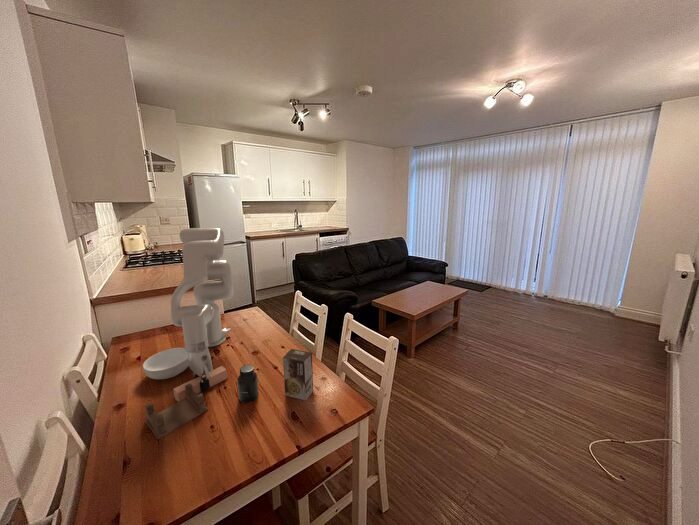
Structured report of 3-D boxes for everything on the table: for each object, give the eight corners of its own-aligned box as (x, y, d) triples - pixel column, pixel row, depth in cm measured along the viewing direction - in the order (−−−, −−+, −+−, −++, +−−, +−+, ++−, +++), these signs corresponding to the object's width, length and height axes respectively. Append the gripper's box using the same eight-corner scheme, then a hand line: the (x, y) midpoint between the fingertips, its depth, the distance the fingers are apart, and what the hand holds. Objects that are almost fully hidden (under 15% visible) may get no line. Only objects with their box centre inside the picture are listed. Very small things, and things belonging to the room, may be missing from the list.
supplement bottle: (240, 406, 96) (237, 376, 94) (238, 394, 102) (235, 365, 100) (260, 399, 99) (257, 370, 97) (257, 388, 105) (254, 360, 103)
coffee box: (313, 390, 105) (312, 352, 101) (306, 401, 99) (304, 361, 95) (293, 384, 108) (291, 347, 104) (284, 395, 102) (282, 356, 98)
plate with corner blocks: (193, 396, 101) (191, 381, 100) (207, 410, 94) (205, 394, 93) (145, 421, 89) (142, 405, 88) (157, 439, 83) (154, 422, 81)
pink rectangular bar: (222, 374, 114) (221, 365, 113) (227, 378, 111) (226, 369, 110) (174, 398, 100) (173, 388, 99) (179, 403, 98) (177, 393, 97)
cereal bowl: (174, 358, 125) (172, 344, 123) (202, 365, 120) (200, 351, 118) (135, 380, 109) (132, 365, 108) (165, 390, 104) (162, 374, 102)
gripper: (218, 347, 100) (222, 390, 104) (196, 333, 109) (202, 374, 113) (196, 356, 94) (202, 402, 98) (176, 341, 104) (182, 383, 108)
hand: (202, 386), depth 106 cm, fingers closed on pink rectangular bar, 4 cm apart
